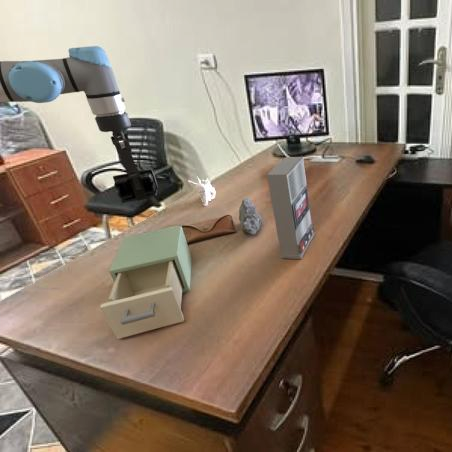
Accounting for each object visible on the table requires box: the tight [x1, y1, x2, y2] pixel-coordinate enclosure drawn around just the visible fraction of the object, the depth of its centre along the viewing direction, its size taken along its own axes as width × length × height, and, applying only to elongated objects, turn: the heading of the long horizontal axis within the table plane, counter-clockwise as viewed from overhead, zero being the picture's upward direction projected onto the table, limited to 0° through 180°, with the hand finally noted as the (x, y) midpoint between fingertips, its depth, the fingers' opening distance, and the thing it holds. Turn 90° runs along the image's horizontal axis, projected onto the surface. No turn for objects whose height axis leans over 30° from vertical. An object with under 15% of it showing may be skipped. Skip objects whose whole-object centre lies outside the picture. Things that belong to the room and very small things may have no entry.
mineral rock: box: [238, 197, 262, 236], centre depth 113 cm, size 13×11×10 cm
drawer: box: [99, 260, 185, 340], centre depth 79 cm, size 20×14×9 cm
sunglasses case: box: [181, 214, 237, 245], centre depth 113 cm, size 18×7×7 cm, turn 114°
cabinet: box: [108, 224, 193, 294], centre depth 91 cm, size 17×15×11 cm
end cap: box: [112, 169, 159, 204], centre depth 100 cm, size 10×7×7 cm
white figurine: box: [187, 175, 217, 207], centre depth 137 cm, size 12×8×10 cm, turn 169°
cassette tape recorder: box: [266, 156, 316, 260], centre depth 97 cm, size 14×6×25 cm, turn 167°
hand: (140, 194), depth 101 cm, fingers closed on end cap, 8 cm apart
